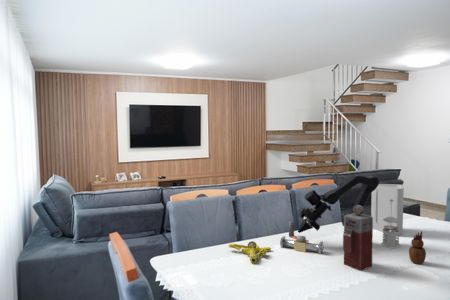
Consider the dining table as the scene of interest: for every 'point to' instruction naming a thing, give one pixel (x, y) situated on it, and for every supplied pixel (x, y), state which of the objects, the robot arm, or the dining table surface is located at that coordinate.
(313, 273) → the dining table surface
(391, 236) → the french press
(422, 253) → the wooden figurine
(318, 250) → the valve body
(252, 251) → the yellow toy airplane
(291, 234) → the lever
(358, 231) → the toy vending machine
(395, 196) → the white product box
